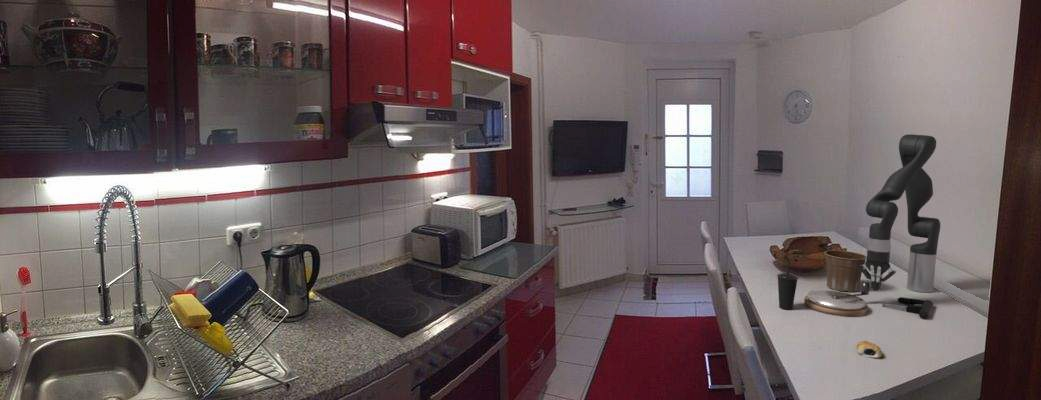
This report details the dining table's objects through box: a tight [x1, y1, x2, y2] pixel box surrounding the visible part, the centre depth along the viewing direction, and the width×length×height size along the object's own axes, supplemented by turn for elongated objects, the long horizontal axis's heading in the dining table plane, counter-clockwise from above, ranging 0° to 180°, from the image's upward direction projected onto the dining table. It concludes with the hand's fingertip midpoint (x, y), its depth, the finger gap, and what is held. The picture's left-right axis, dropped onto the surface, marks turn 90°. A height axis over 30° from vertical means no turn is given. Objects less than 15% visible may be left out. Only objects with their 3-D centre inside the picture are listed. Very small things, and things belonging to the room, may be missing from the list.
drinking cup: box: [776, 260, 799, 311], centre depth 197 cm, size 8×8×20 cm
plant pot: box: [824, 249, 867, 293], centre depth 221 cm, size 16×16×16 cm
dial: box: [806, 280, 870, 310], centre depth 199 cm, size 26×20×7 cm
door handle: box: [881, 296, 936, 320], centre depth 195 cm, size 3×20×16 cm
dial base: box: [803, 295, 869, 318], centre depth 199 cm, size 22×22×2 cm
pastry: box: [855, 340, 883, 359], centre depth 158 cm, size 9×7×4 cm
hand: (875, 290), depth 199 cm, fingers closed
